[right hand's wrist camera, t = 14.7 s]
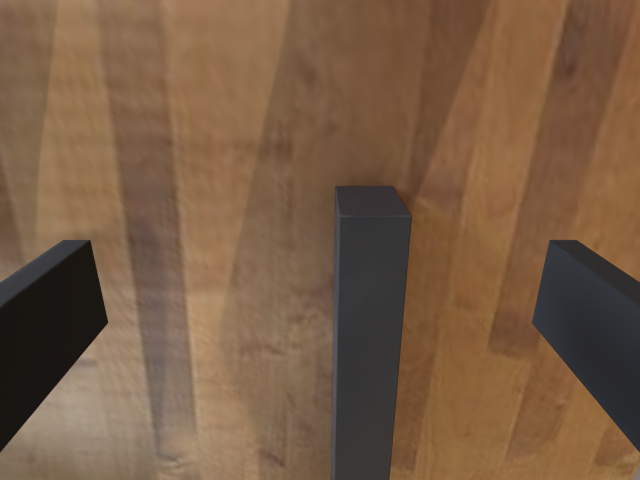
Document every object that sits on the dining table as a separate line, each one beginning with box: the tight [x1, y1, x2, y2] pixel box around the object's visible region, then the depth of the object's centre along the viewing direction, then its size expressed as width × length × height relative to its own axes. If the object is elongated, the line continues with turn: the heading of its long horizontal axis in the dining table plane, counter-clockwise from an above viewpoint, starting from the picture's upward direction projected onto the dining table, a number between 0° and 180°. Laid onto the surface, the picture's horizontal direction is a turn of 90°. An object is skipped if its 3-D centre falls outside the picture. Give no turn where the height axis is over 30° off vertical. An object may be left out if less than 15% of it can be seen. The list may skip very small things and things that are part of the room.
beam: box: [331, 186, 412, 480], centre depth 40 cm, size 36×5×8 cm, turn 0°
